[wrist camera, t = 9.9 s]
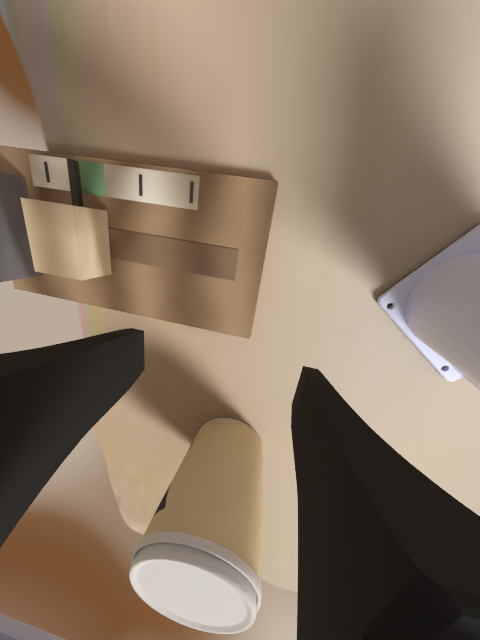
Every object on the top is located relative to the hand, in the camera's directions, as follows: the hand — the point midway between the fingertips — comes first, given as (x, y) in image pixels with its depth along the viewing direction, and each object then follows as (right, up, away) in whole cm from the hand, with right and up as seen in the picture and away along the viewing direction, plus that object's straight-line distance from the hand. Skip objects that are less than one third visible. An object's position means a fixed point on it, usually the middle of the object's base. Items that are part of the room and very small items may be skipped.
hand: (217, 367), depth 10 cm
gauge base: (-9, +9, +10) cm, 16 cm away
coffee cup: (0, -12, +16) cm, 20 cm away
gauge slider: (-12, +10, +8) cm, 17 cm away
